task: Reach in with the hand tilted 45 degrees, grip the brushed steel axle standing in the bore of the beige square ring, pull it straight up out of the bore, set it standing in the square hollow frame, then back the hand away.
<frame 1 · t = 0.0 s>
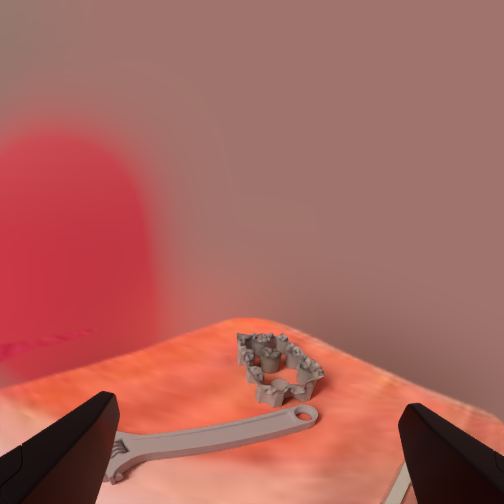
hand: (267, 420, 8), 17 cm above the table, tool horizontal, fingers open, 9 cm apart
grey jagged open ring: (272, 379, 35), on the table
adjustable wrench: (191, 455, 23), on the table
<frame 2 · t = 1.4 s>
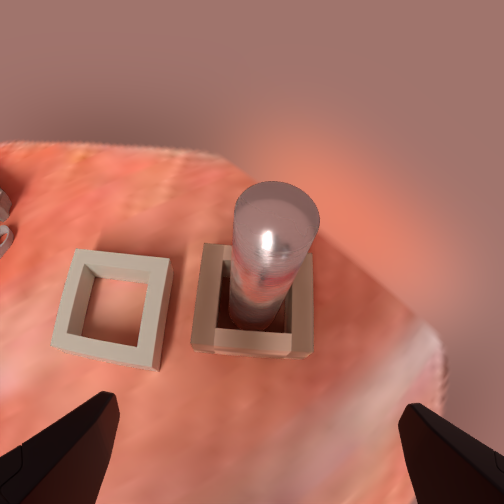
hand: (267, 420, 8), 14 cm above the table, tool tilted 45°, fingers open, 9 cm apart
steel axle: (252, 309, 24), resting in beige square ring
beige square ring: (252, 309, 24), on the table
square hollow frame: (117, 313, 23), on the table
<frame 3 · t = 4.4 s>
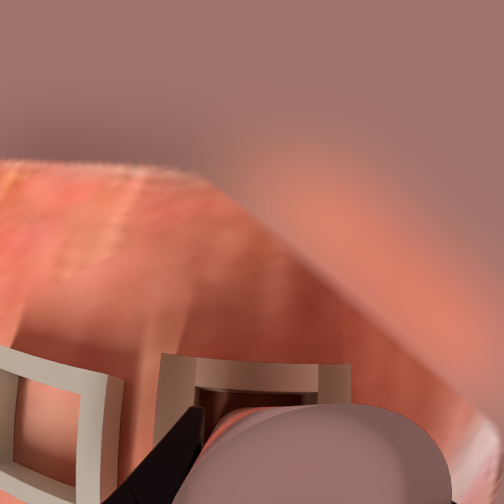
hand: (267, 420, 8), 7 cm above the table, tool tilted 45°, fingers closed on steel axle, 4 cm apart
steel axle: (248, 441, 13), resting in beige square ring, touching gripper
beige square ring: (248, 441, 13), on the table
square hollow frame: (52, 433, 12), on the table
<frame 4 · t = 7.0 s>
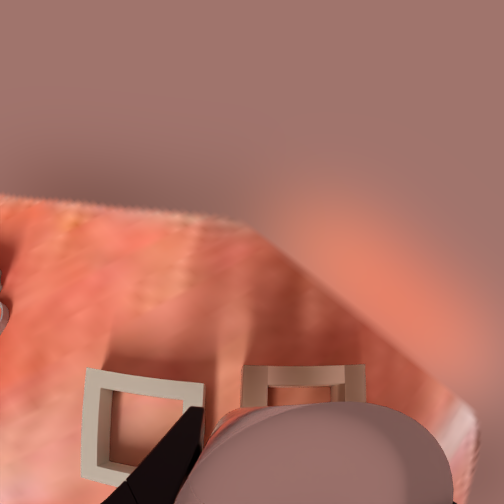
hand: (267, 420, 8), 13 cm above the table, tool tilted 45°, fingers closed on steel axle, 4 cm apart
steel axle: (249, 441, 13), point 7 cm above the table, touching gripper
beige square ring: (296, 420, 20), on the table
square hollow frame: (147, 433, 18), on the table
when the fingers open (8 cm above the table, at t = 9.0 s): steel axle drops 1 cm, resting in square hollow frame.
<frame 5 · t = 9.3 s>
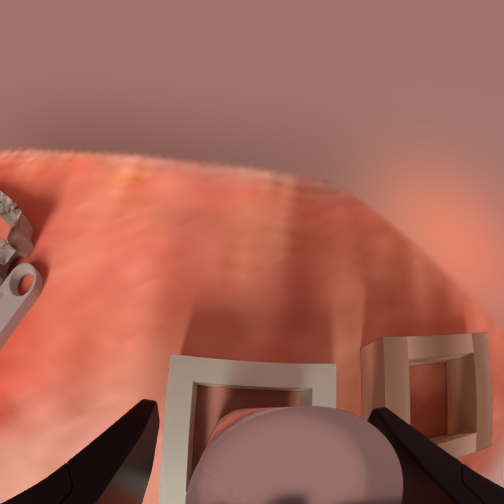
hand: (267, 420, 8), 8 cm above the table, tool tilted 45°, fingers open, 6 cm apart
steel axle: (246, 439, 15), resting in square hollow frame
beige square ring: (417, 403, 16), on the table
square hollow frame: (246, 438, 15), on the table
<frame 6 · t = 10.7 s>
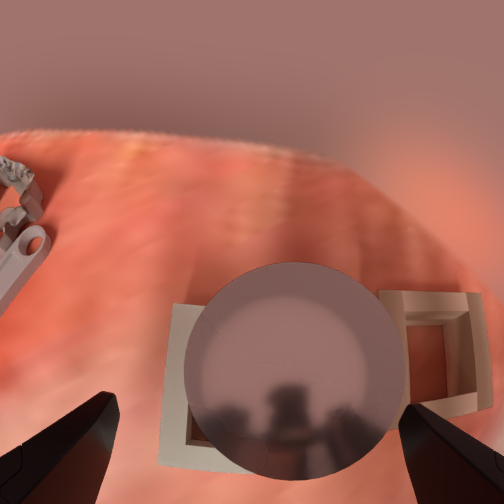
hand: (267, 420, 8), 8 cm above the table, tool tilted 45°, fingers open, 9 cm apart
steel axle: (247, 395, 16), resting in square hollow frame
beige square ring: (416, 363, 17), on the table
square hollow frame: (247, 393, 16), on the table
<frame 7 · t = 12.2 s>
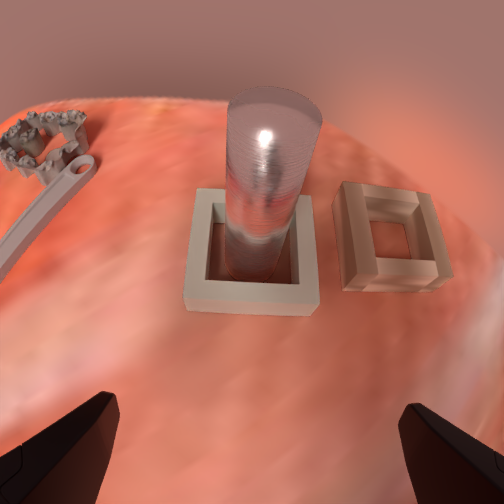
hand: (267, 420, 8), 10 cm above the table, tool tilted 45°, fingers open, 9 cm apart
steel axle: (250, 259, 22), resting in square hollow frame
grey jagged open ring: (45, 157, 26), on the table
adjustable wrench: (7, 276, 20), on the table
beige square ring: (383, 247, 23), on the table
square hollow frame: (250, 258, 22), on the table
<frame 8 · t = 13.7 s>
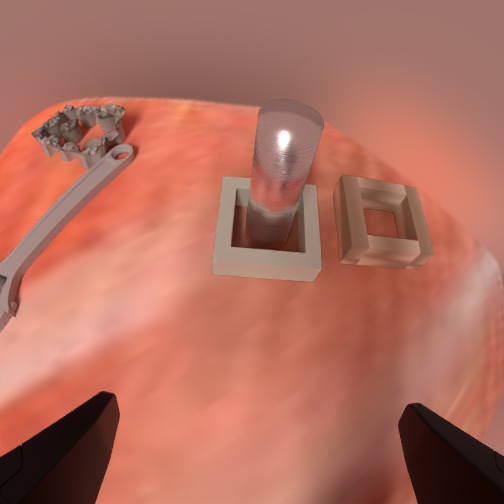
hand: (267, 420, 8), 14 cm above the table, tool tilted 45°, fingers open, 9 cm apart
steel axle: (265, 235, 27), resting in square hollow frame
grey jagged open ring: (83, 145, 32), on the table
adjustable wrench: (49, 244, 25), on the table
beige square ring: (375, 231, 28), on the table
square hollow frame: (265, 234, 27), on the table
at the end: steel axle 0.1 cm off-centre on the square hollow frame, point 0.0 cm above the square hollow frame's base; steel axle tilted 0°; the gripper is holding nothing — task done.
